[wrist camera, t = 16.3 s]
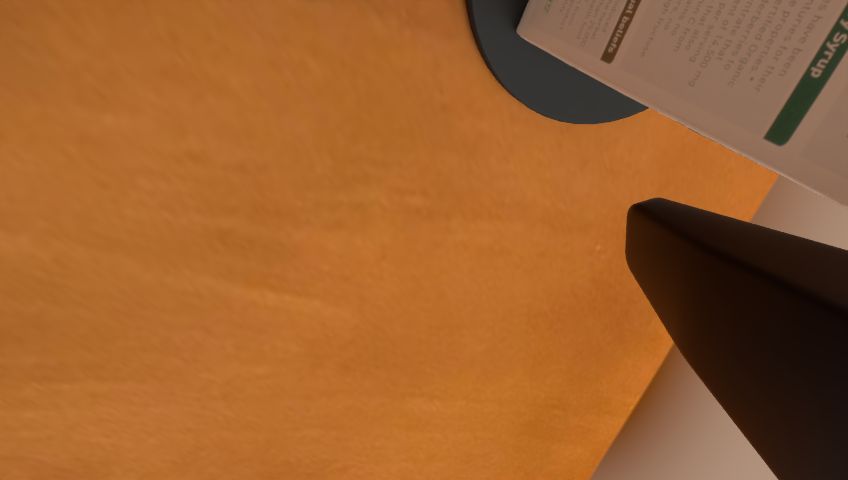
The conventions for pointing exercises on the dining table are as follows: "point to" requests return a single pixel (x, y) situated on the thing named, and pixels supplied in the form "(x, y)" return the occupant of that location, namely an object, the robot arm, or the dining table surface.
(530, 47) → the coaster
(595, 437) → the dining table surface
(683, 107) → the syrup box
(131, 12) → the dining table surface
